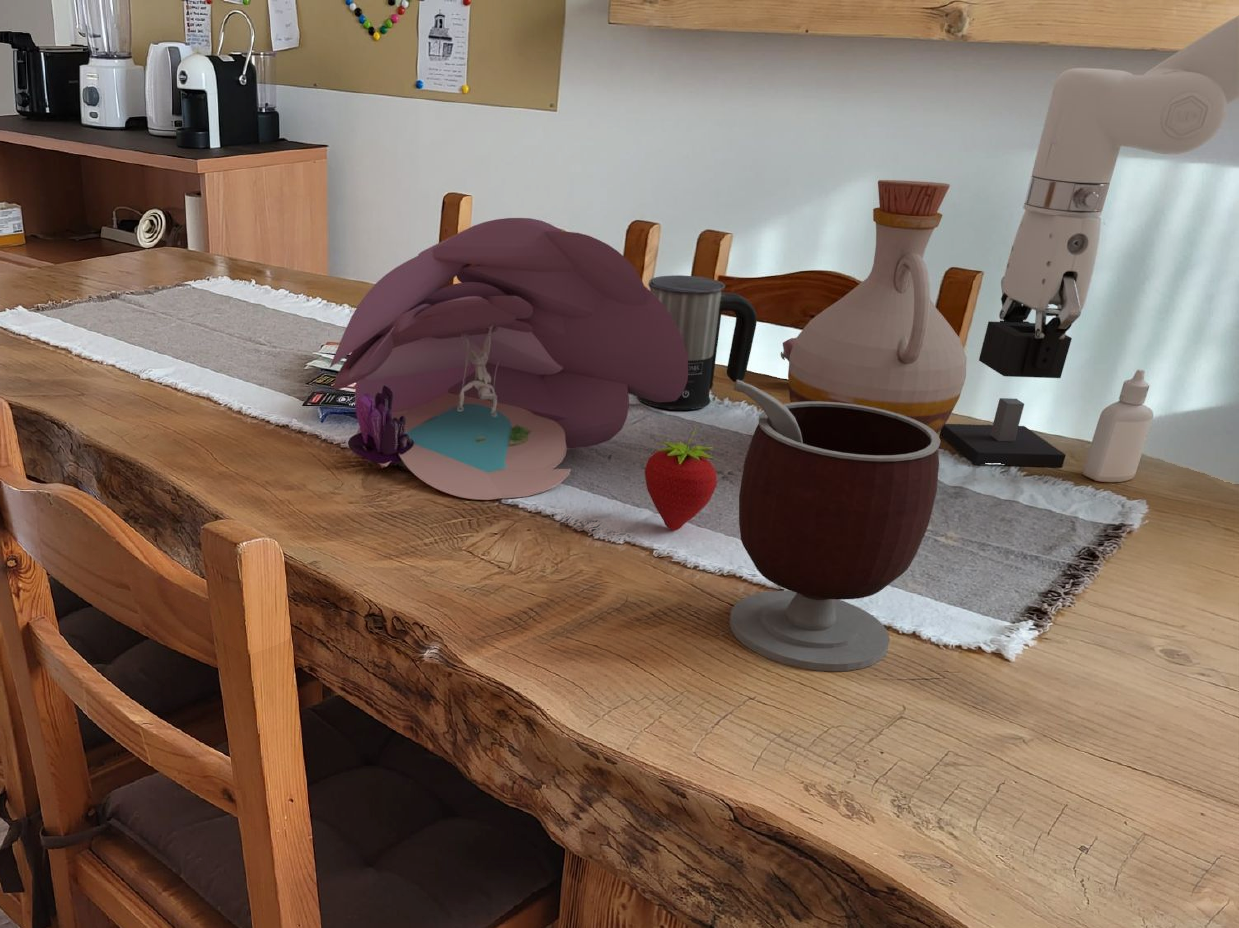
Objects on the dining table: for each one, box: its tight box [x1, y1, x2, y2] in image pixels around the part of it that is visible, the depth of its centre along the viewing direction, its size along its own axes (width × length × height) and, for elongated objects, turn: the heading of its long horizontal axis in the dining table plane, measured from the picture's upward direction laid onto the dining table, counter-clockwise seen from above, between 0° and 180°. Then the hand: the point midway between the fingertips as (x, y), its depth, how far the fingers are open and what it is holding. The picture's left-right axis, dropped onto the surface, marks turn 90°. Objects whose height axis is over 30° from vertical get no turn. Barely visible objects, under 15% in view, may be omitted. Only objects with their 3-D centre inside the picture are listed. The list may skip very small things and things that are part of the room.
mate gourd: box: [729, 380, 941, 672], centre depth 89 cm, size 16×14×20 cm
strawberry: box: [644, 427, 718, 531], centre depth 109 cm, size 6×8×10 cm
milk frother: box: [636, 274, 758, 411], centre depth 148 cm, size 14×16×15 cm
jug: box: [787, 179, 967, 435], centre depth 121 cm, size 20×18×30 cm
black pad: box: [978, 320, 1073, 379], centre depth 130 cm, size 6×6×4 cm
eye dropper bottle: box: [1082, 369, 1154, 483], centre depth 126 cm, size 4×6×12 cm
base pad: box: [939, 397, 1067, 468], centre depth 134 cm, size 10×10×6 cm
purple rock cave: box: [329, 217, 688, 501], centre depth 119 cm, size 35×24×28 cm
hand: (1020, 363), depth 130 cm, fingers closed on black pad, 6 cm apart
